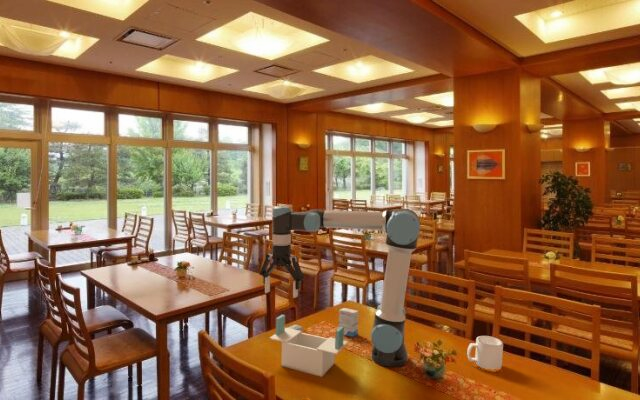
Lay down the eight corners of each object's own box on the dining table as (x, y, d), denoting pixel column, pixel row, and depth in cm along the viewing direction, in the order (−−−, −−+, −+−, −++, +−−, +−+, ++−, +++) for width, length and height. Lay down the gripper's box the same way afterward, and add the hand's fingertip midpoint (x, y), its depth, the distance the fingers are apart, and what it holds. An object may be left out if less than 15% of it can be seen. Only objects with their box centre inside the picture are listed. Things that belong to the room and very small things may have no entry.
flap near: (348, 342, 159) (348, 324, 159) (336, 354, 148) (337, 335, 148) (329, 338, 163) (329, 320, 162) (316, 350, 152) (317, 330, 151)
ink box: (358, 334, 193) (359, 310, 192) (353, 337, 189) (354, 313, 188) (343, 330, 197) (343, 306, 197) (338, 333, 193) (338, 309, 192)
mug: (472, 371, 159) (473, 345, 158) (463, 359, 169) (464, 335, 168) (506, 372, 158) (507, 346, 158) (495, 360, 169) (496, 336, 168)
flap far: (301, 332, 168) (301, 315, 168) (287, 343, 158) (287, 324, 157) (284, 328, 172) (284, 311, 171) (269, 339, 161) (269, 320, 161)
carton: (334, 363, 162) (334, 339, 162) (321, 376, 152) (322, 351, 151) (295, 354, 170) (296, 331, 169) (281, 366, 159) (281, 342, 159)
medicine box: (294, 342, 182) (295, 323, 182) (302, 345, 179) (302, 326, 179) (282, 347, 176) (283, 328, 175) (290, 350, 173) (290, 331, 173)
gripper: (312, 245, 161) (312, 296, 163) (261, 240, 172) (261, 288, 173) (304, 248, 155) (303, 301, 156) (251, 242, 165) (251, 292, 167)
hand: (281, 294), depth 165 cm, fingers open, 13 cm apart
